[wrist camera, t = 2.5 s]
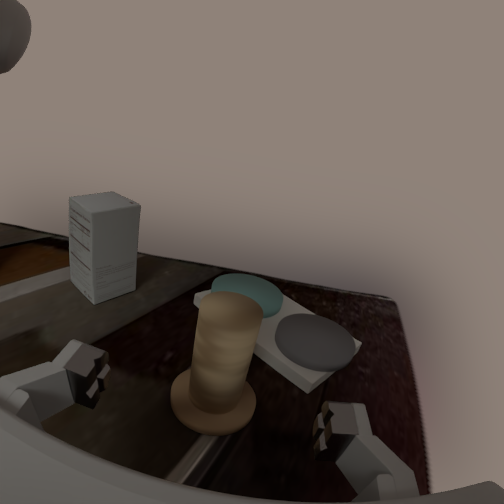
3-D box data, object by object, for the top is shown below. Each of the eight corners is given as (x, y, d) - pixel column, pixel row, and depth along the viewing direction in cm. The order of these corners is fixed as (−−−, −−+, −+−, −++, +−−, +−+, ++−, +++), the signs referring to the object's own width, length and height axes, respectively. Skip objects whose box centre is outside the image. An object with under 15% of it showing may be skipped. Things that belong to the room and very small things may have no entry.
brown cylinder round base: (154, 391, 27) (158, 293, 23) (216, 364, 33) (235, 274, 29) (206, 450, 22) (227, 357, 18) (270, 410, 28) (304, 319, 24)
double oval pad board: (189, 299, 44) (191, 282, 43) (249, 283, 52) (252, 267, 51) (314, 398, 31) (323, 381, 29) (363, 355, 39) (371, 339, 38)
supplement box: (110, 269, 46) (113, 190, 41) (136, 291, 42) (143, 204, 38) (69, 281, 40) (67, 195, 35) (92, 306, 37) (92, 211, 32)
